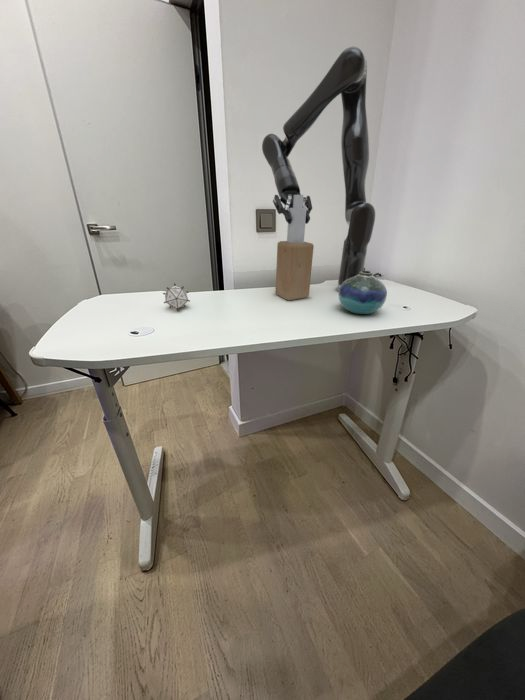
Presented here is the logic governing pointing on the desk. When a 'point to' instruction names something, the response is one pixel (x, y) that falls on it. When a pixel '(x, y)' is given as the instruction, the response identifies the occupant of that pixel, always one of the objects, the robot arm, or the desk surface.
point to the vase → (362, 293)
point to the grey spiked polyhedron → (176, 297)
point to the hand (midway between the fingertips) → (299, 221)
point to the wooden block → (293, 269)
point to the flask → (297, 221)
